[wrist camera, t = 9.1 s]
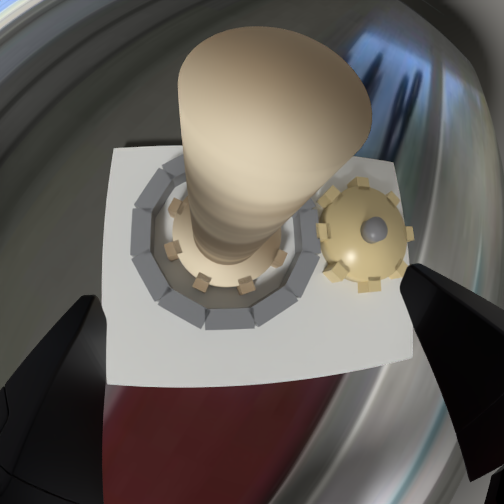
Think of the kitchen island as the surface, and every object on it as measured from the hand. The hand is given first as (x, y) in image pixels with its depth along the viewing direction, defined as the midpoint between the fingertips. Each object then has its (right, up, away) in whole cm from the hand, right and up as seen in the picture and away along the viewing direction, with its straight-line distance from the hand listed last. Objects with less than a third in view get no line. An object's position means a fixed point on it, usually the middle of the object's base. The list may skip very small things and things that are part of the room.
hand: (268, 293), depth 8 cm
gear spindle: (-2, +2, +11) cm, 11 cm away
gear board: (+1, 0, +12) cm, 12 cm away
